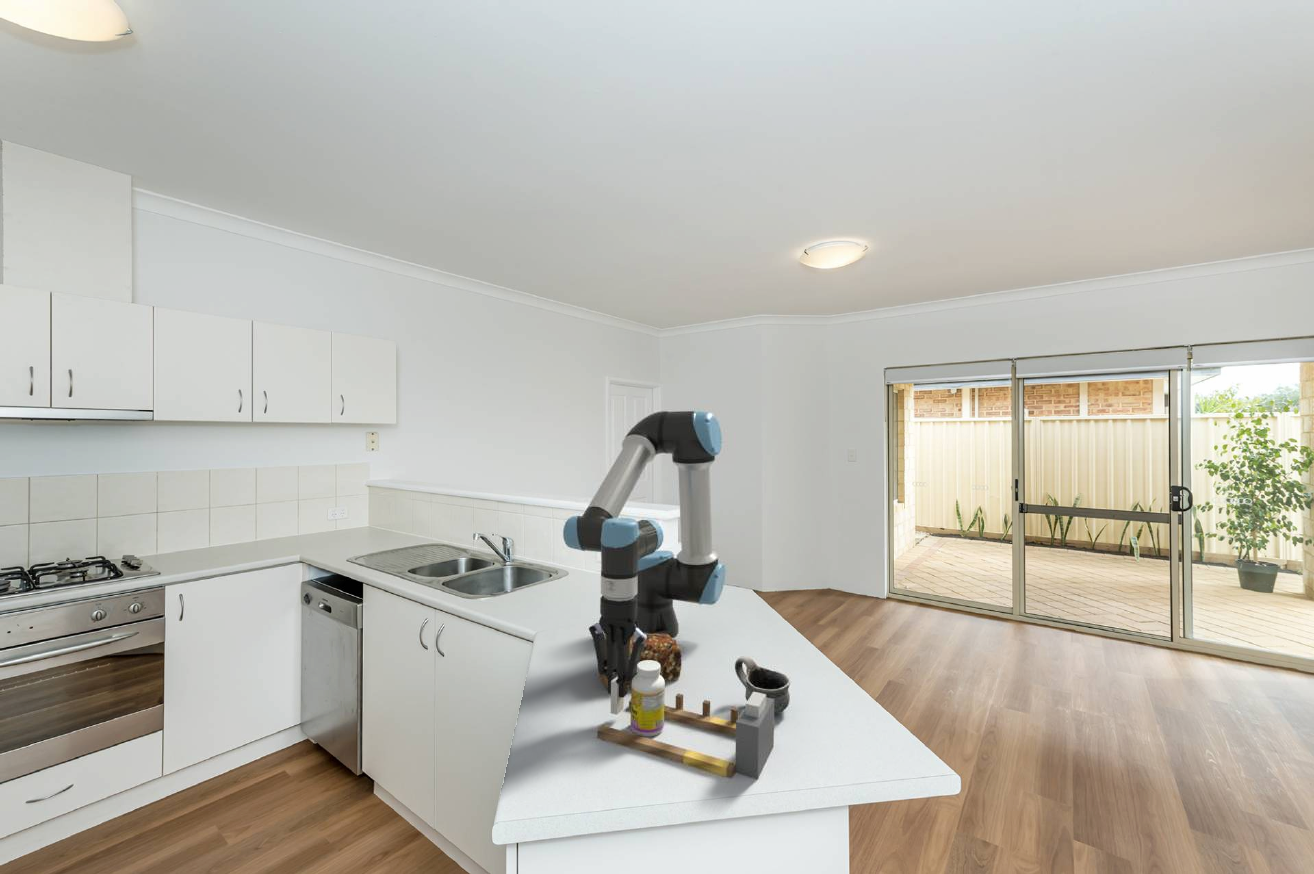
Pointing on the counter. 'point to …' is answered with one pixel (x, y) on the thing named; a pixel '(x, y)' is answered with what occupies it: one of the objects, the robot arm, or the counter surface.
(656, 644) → the bread
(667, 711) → the wooden rack
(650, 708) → the supplement bottle
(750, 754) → the grey carton
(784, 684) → the mug
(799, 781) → the counter surface
